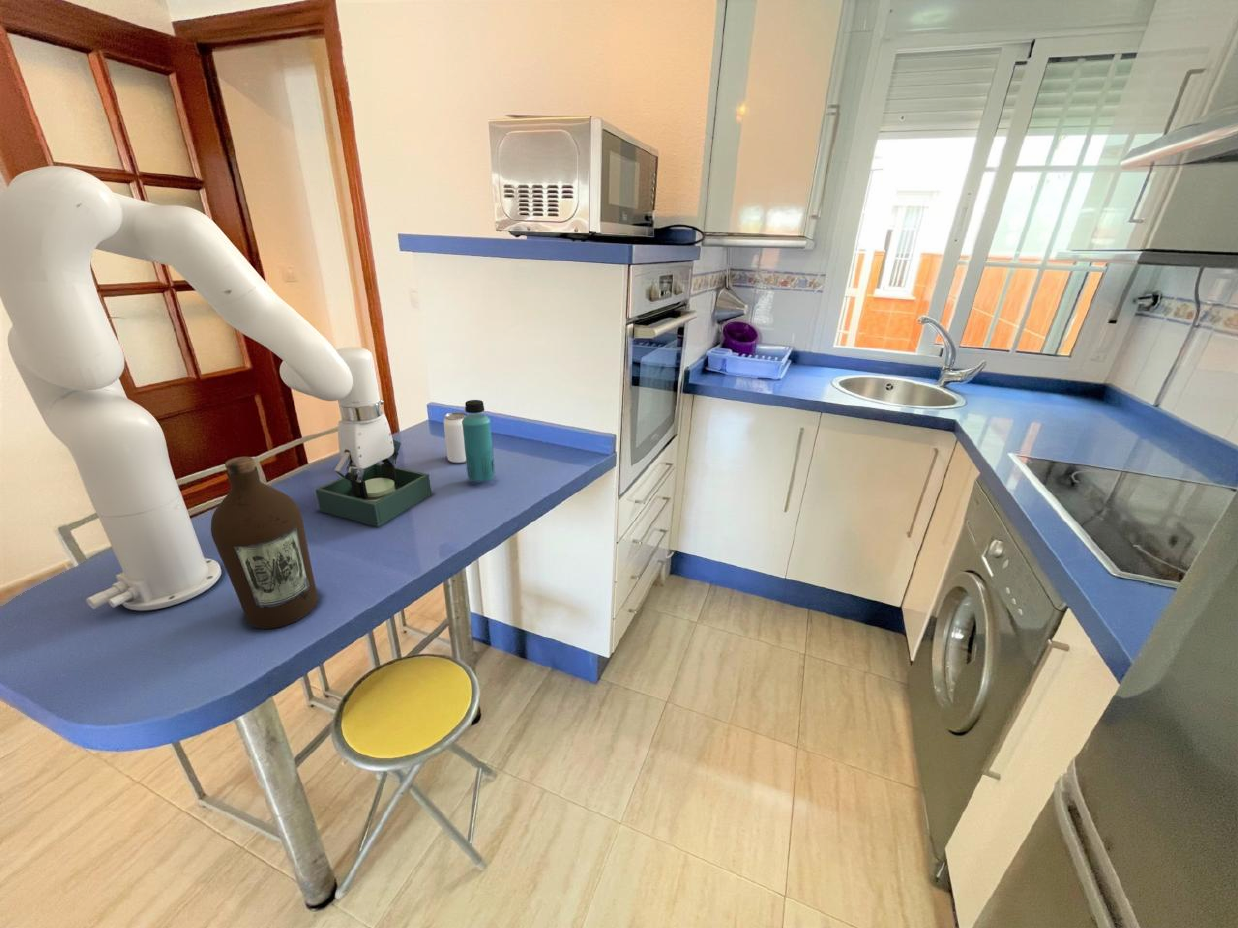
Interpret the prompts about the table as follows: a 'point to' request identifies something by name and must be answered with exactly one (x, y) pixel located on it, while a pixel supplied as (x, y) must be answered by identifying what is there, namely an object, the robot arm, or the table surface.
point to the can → (454, 437)
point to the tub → (346, 505)
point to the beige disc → (376, 497)
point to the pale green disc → (379, 487)
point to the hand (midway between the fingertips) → (376, 488)
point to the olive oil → (263, 549)
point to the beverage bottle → (478, 442)
